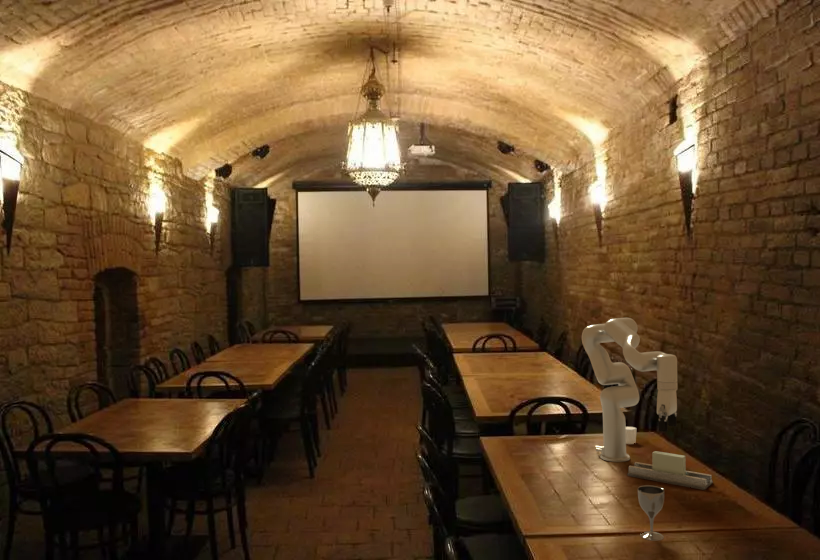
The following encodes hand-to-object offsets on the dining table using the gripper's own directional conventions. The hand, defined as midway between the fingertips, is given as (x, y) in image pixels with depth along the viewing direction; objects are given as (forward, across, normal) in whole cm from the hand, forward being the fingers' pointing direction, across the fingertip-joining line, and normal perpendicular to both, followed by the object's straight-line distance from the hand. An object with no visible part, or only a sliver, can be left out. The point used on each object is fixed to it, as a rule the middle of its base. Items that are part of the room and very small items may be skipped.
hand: (668, 428), depth 270 cm
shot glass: (+21, -43, -34) cm, 58 cm away
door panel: (+19, 0, 0) cm, 19 cm away
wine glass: (+20, +58, +15) cm, 64 cm away
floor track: (+20, 0, 0) cm, 20 cm away
